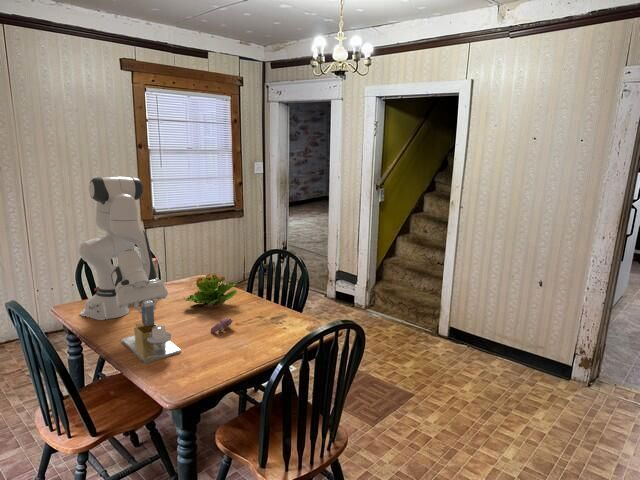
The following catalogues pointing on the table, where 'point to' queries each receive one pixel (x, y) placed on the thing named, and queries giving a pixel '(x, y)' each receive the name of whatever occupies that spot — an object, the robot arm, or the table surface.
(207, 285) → the potted flower
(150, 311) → the tall grey square post
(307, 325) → the table surface
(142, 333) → the silver and gold device
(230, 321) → the video game controller
